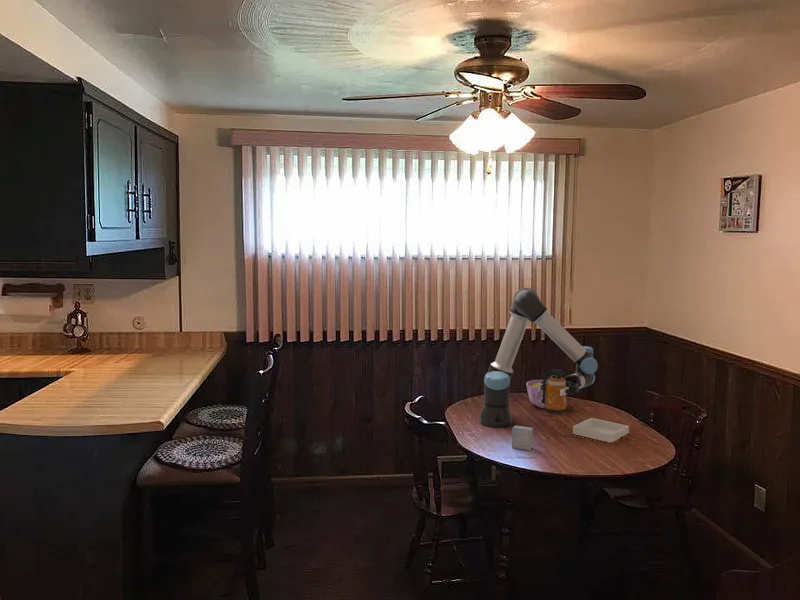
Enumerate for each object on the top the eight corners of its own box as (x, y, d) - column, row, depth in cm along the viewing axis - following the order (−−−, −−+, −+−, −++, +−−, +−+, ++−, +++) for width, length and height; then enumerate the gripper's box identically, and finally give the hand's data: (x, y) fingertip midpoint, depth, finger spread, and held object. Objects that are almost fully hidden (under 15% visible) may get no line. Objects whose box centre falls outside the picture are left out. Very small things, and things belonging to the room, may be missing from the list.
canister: (565, 416, 293) (567, 371, 291) (540, 414, 295) (541, 370, 293) (565, 410, 302) (566, 367, 299) (540, 408, 304) (541, 366, 302)
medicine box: (532, 447, 278) (533, 427, 277) (530, 451, 274) (530, 430, 273) (514, 445, 281) (515, 425, 280) (511, 448, 277) (512, 428, 276)
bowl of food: (518, 407, 340) (519, 385, 338) (534, 399, 356) (535, 378, 355) (556, 414, 328) (557, 391, 327) (570, 405, 345) (571, 383, 343)
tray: (611, 444, 284) (611, 435, 283) (572, 434, 296) (573, 426, 295) (628, 434, 297) (629, 425, 297) (591, 426, 309) (591, 417, 309)
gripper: (595, 394, 303) (572, 403, 287) (551, 385, 318) (527, 393, 302) (596, 378, 302) (573, 386, 286) (552, 370, 318) (528, 377, 301)
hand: (549, 390), depth 294 cm, fingers closed on canister, 10 cm apart
